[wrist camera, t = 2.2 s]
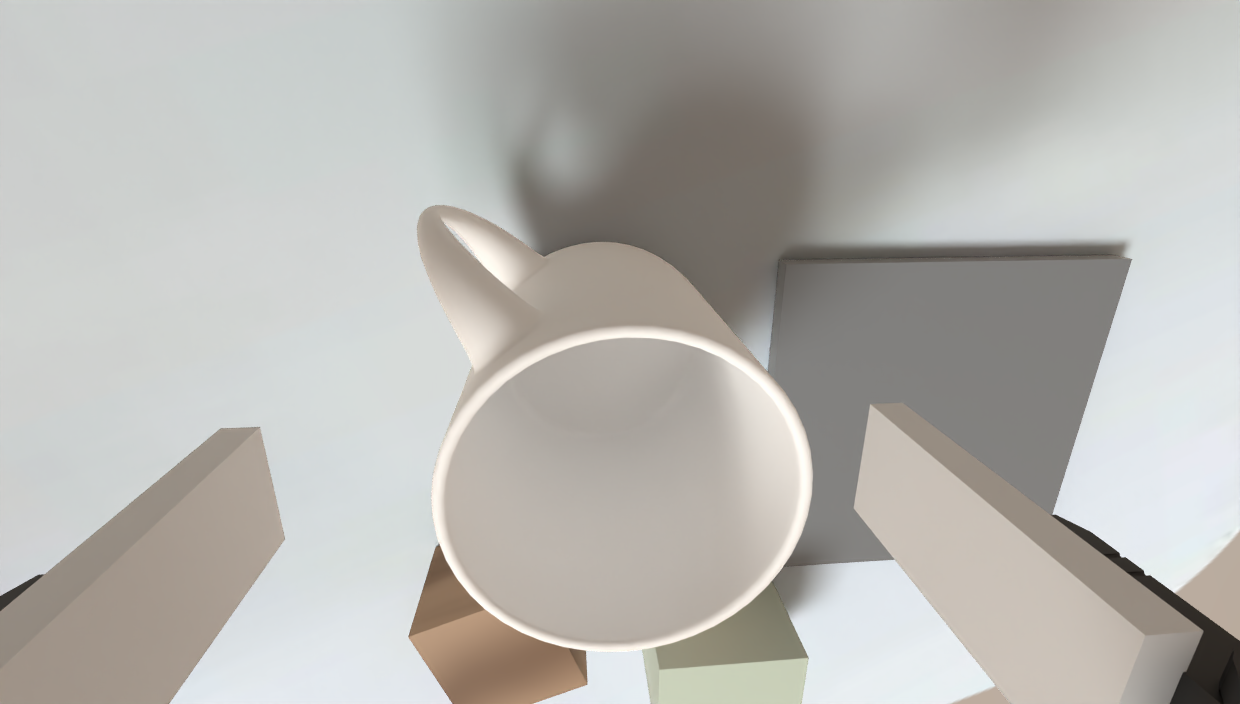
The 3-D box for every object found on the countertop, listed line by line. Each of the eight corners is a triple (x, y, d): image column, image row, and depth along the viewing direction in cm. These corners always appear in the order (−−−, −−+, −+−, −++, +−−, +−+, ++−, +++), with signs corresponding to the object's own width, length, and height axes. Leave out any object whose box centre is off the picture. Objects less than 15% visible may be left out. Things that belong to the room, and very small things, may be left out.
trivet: (779, 259, 22) (786, 264, 22) (1113, 254, 24) (1131, 258, 23) (749, 556, 27) (754, 568, 27) (1028, 539, 29) (1040, 550, 28)
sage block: (642, 578, 27) (659, 669, 23) (767, 570, 28) (808, 658, 23) (641, 643, 29) (656, 742, 24) (759, 634, 29) (797, 729, 25)
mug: (555, 106, 20) (549, 79, 10) (747, 358, 24) (881, 519, 14) (373, 265, 21) (205, 382, 11) (584, 478, 25) (599, 706, 15)
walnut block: (436, 545, 26) (408, 637, 21) (541, 507, 26) (537, 590, 21) (483, 625, 28) (467, 726, 23) (582, 590, 27) (587, 684, 23)
